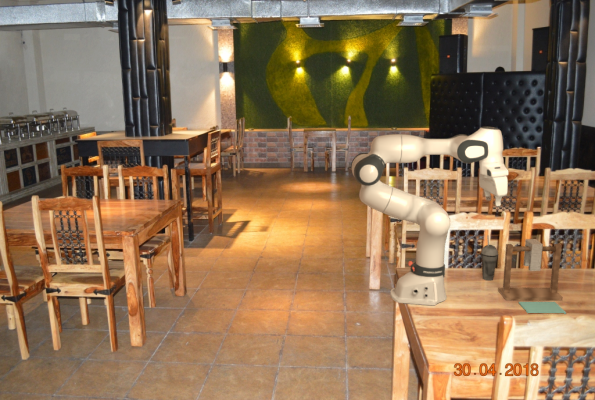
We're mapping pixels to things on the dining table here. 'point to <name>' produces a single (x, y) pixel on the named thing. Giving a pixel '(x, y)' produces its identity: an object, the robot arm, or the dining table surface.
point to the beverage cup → (488, 261)
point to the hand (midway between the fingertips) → (493, 203)
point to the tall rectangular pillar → (533, 254)
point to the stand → (531, 293)
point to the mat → (542, 307)
